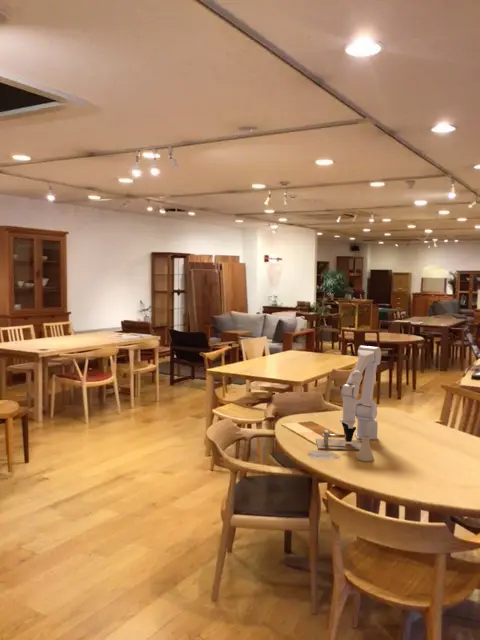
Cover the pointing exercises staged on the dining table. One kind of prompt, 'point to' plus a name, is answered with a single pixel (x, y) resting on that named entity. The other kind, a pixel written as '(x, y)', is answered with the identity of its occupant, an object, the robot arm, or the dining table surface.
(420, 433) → the dining table surface
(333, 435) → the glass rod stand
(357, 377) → the robot arm
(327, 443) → the board
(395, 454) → the dining table surface
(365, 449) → the flask
